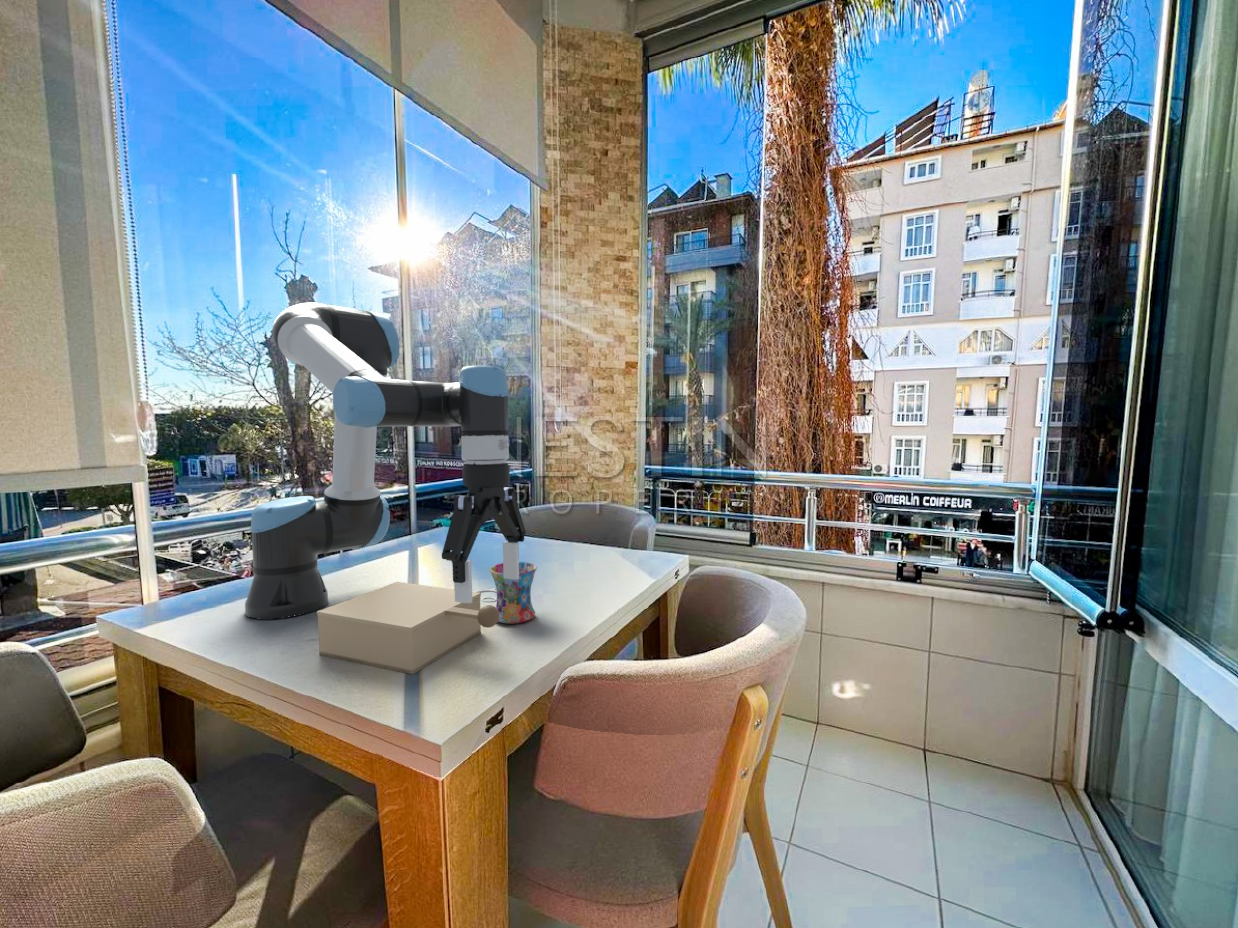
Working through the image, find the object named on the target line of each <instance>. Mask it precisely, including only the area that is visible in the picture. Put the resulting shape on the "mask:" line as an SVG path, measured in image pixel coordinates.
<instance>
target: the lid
mask: <svg viewBox="0 0 1238 928" xmlns="http://www.w3.org/2000/svg"><path fill="white" fill-rule="evenodd" d="M481 593H482V592H480V593H477V592H472V600H474V599H476V598H478V597H480V596H481V597H482V594H481ZM464 604H466V603H462V602H455V590H454V588H447V587H440V586H433V585H431V586H430V585H424V584H423V585H422V584H417V583H410V582H408V583H407V582H401V581H396V582H393V583H391V584H387V585H385V586H382V587H379V588H377V589H374V590H372V591H368V592H366V593H364V594H360V595H357V596H355V597H353V598H350V599H346V600H344V601H341V602H339V603H337V604H333V605H331V606H328V607H325V608H323V609H319V610H316V615H317V616H318V615H319V616H325V617H331V618H336V619H342V620H348V621H354V622H359V623H365V624H371V625H377V626H382V627H388V628H394V629H400V630H406V631H413V630H415V629H417V628H419V627H421V626H423V625H425V624H427V623H429V622H431V621H433V620H435V619H437V618H438V617H440V616H442V615H444V614H448V615H455V616H461V617H468V618H474V619H478V622H479V624H480V625H481V627H483V628H487V629H488V628H492V627H494V626H496V624H498V620H499V611H498V609H497V608H496V606H494V605H492V604H488V605H484V606H482V607H480V610H479V611H477V610H471V609H464V608H458V607H460V606H462V605H464Z"/></svg>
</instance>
